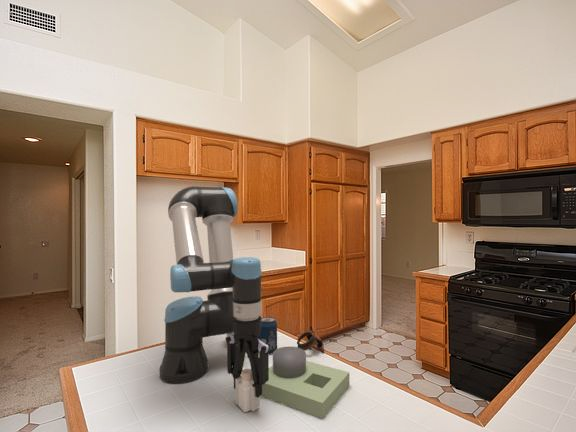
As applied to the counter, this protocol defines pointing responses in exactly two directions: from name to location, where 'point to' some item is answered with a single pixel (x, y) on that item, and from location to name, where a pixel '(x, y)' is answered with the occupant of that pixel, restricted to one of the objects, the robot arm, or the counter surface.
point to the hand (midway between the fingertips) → (247, 404)
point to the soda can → (269, 332)
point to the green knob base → (304, 382)
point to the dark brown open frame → (310, 341)
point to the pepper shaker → (245, 390)
